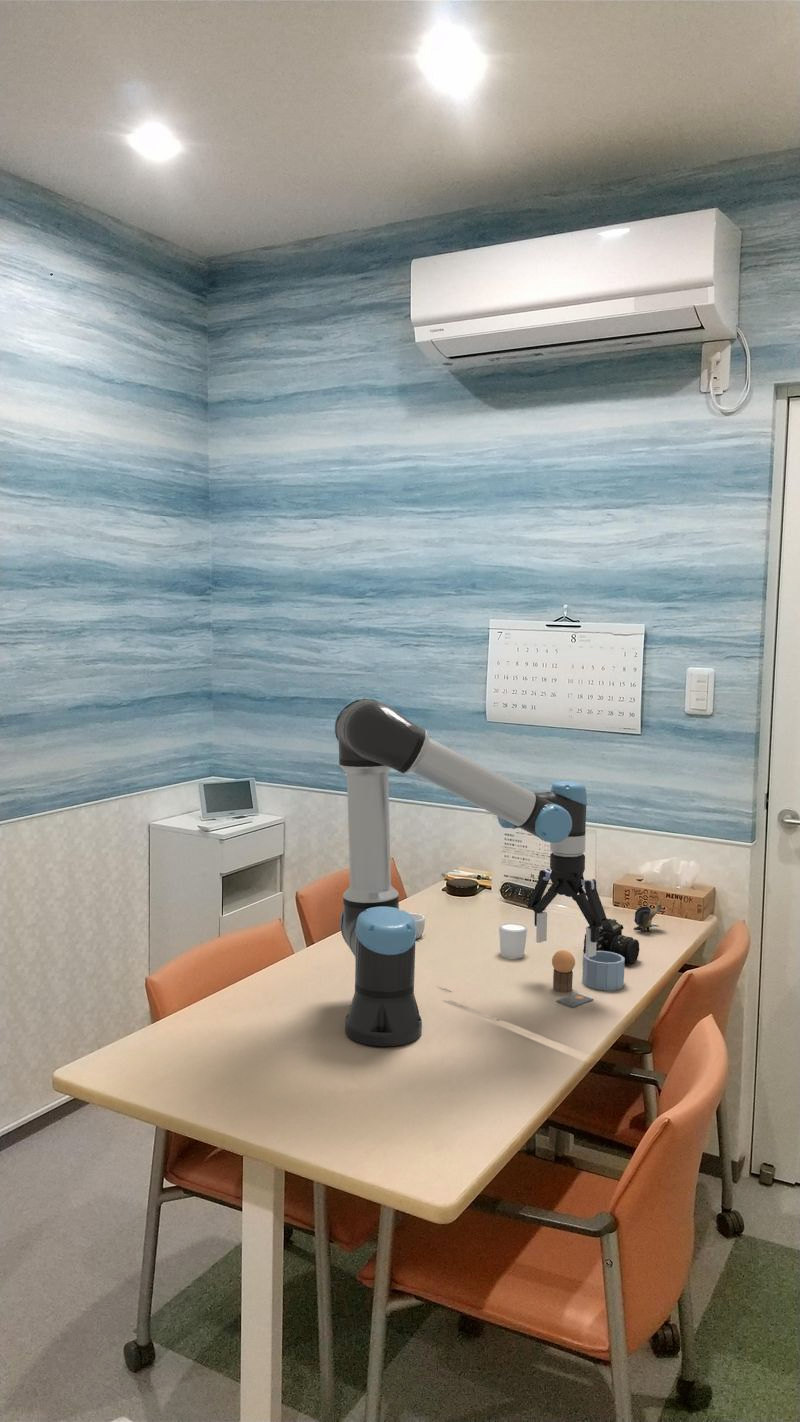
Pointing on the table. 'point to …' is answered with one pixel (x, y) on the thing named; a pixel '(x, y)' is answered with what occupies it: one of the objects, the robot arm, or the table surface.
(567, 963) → the ball
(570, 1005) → the card
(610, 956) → the tube
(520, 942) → the white cylinder
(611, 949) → the film camera
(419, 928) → the teacup
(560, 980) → the tube
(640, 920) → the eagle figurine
